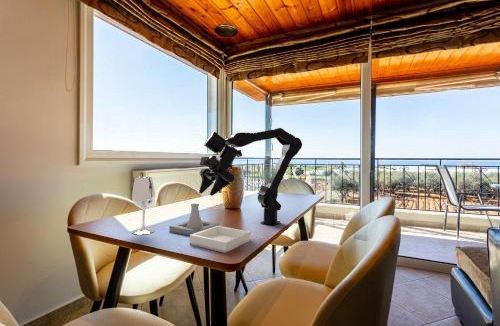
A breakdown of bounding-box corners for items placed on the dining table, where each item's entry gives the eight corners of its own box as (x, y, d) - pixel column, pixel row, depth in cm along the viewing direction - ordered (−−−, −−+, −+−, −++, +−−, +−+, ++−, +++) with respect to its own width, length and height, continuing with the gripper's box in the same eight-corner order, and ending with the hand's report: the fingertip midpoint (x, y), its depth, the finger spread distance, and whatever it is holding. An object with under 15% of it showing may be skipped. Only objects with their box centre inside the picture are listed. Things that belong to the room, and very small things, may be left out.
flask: (200, 233, 95) (200, 206, 95) (181, 232, 96) (181, 205, 96) (207, 228, 102) (207, 203, 102) (189, 227, 103) (190, 202, 103)
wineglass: (146, 227, 101) (147, 176, 101) (159, 231, 97) (159, 177, 97) (127, 232, 95) (127, 177, 95) (139, 236, 91) (140, 178, 90)
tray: (217, 233, 95) (217, 225, 95) (250, 240, 88) (250, 231, 88) (189, 244, 83) (189, 234, 83) (225, 253, 76) (225, 242, 76)
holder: (193, 224, 108) (193, 219, 108) (218, 229, 101) (219, 223, 101) (169, 231, 97) (169, 226, 97) (195, 237, 90) (195, 231, 90)
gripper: (199, 149, 107) (179, 181, 102) (222, 146, 92) (199, 184, 87) (219, 164, 113) (201, 196, 107) (244, 164, 97) (223, 200, 92)
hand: (205, 194), depth 98 cm, fingers open, 9 cm apart
